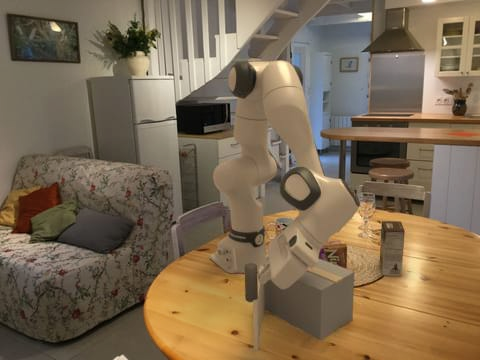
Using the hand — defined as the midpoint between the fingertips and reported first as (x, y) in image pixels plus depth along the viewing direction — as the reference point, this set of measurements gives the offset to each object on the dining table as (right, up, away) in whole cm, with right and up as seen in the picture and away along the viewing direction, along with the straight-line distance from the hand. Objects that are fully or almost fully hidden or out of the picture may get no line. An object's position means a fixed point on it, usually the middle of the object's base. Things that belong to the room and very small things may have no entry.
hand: (260, 280), depth 99 cm
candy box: (+23, -11, +32) cm, 41 cm away
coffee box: (+46, -7, +43) cm, 64 cm away
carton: (+14, -14, +19) cm, 27 cm away
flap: (-1, -15, +12) cm, 19 cm away
